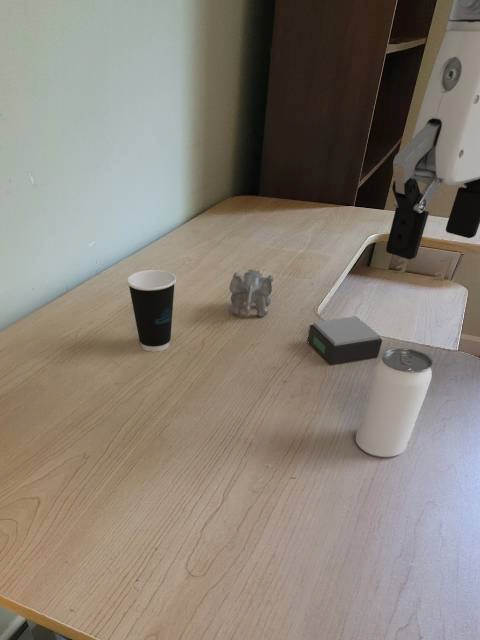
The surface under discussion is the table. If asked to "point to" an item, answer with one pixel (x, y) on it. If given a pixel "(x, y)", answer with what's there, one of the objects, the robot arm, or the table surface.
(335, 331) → the scale
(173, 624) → the table surface
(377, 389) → the can
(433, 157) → the robot arm
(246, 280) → the elephant statuette
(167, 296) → the dixie cup
